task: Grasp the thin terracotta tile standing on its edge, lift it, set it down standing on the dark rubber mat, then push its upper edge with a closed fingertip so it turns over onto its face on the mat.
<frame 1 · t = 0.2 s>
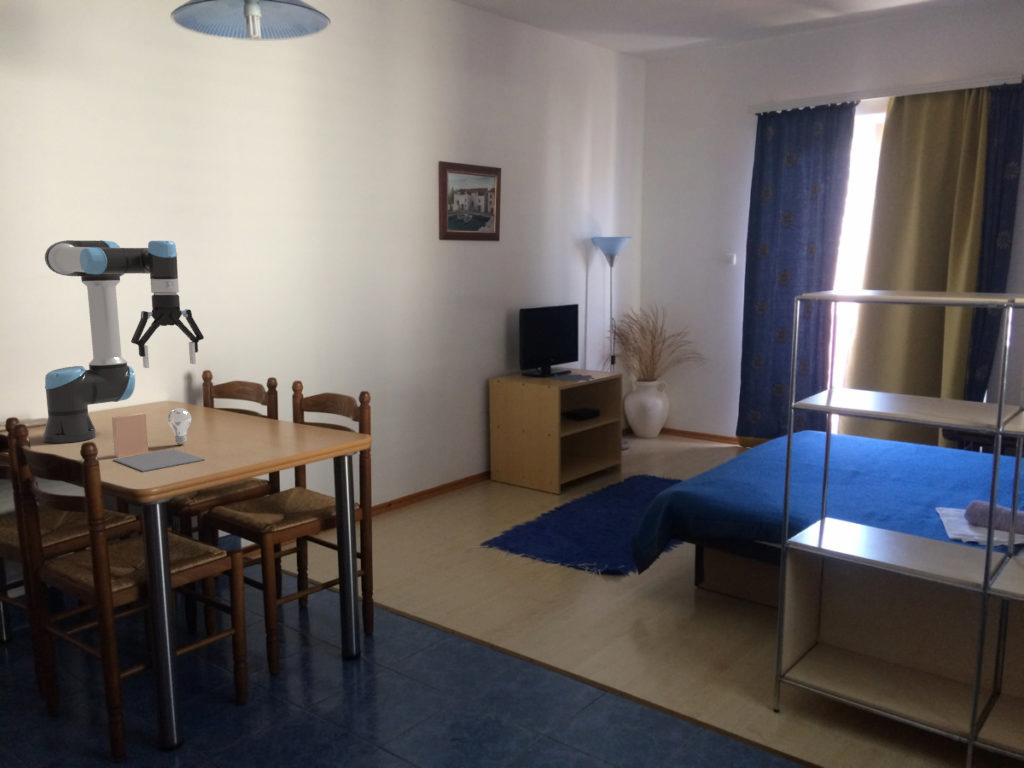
hand: (170, 365, 244), 27 cm above the table, fingers open, 13 cm apart
light bulb: (181, 445, 261), on the table
tile: (131, 454, 249), on the table
mat: (158, 460, 241), on the table
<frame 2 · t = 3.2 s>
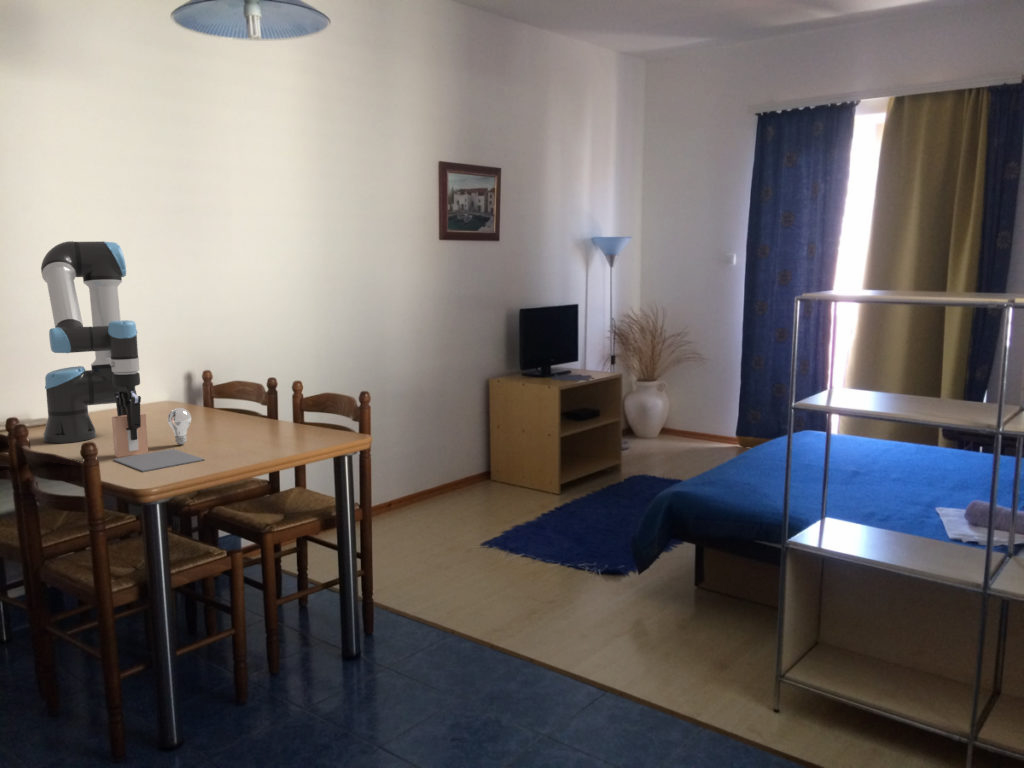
hand: (131, 449, 248), 2 cm above the table, fingers closed on tile, 2 cm apart
tile: (131, 454, 249), on the table, touching gripper
everything else where it was.
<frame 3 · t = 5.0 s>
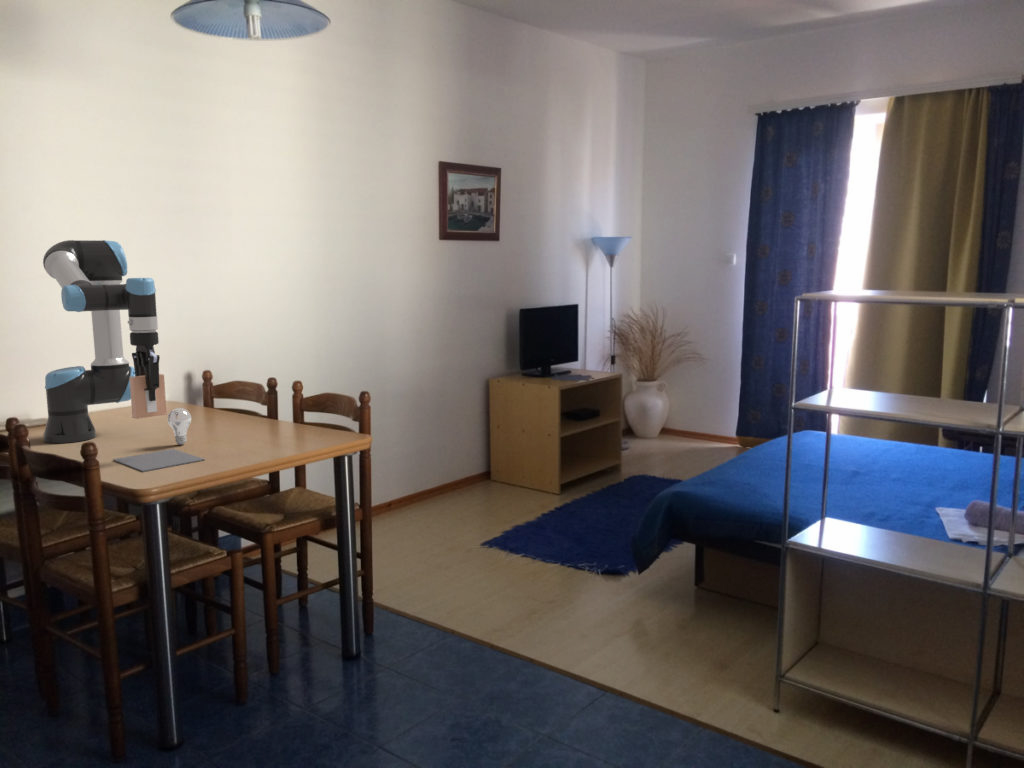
hand: (149, 410, 241), 14 cm above the table, fingers closed on tile, 2 cm apart
tile: (149, 416, 241), point 13 cm above the table, touching gripper
everything else where it was.
when the fingers open (3 cm above the table, at t = 7.1 s): tile stays where it is, resting on mat.
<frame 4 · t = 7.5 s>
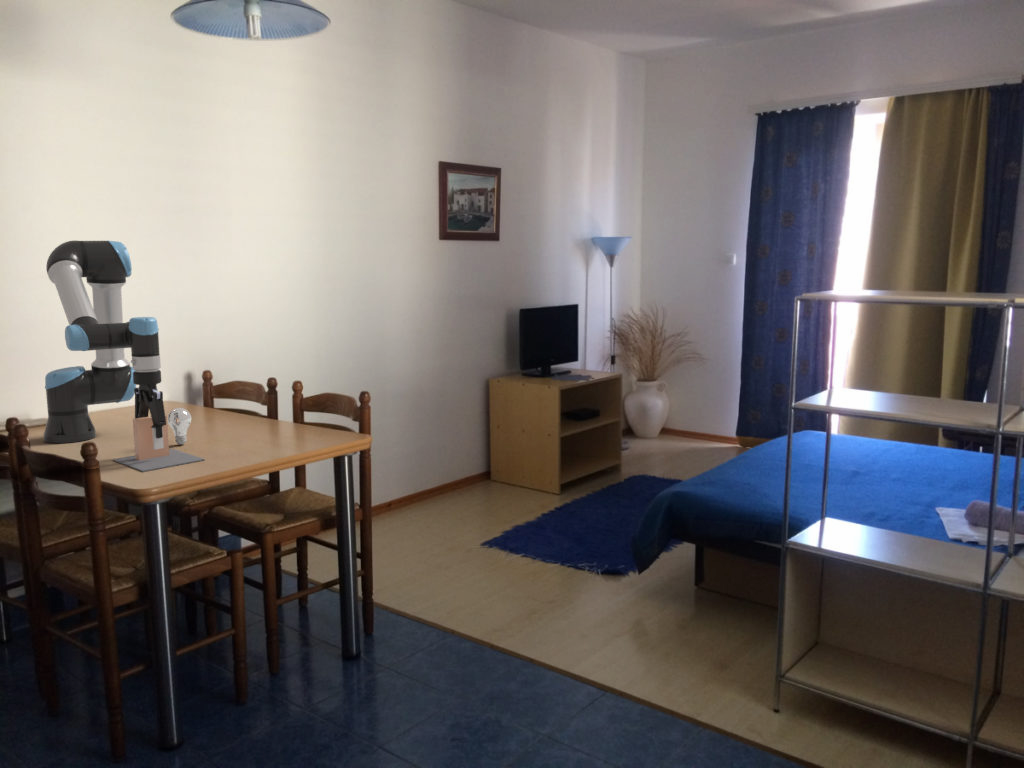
hand: (152, 446, 243), 4 cm above the table, fingers open, 8 cm apart
tile: (152, 456, 243), resting on mat
everything else where it was.
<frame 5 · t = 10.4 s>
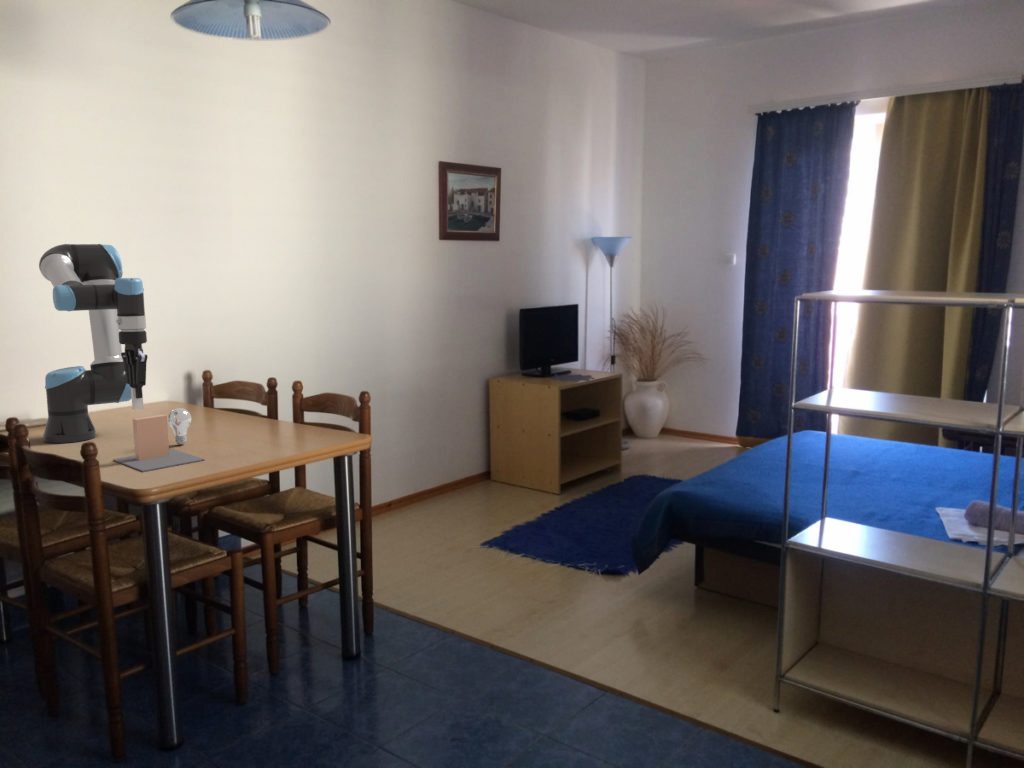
hand: (138, 408, 247), 14 cm above the table, fingers closed
nothing on the table moved.
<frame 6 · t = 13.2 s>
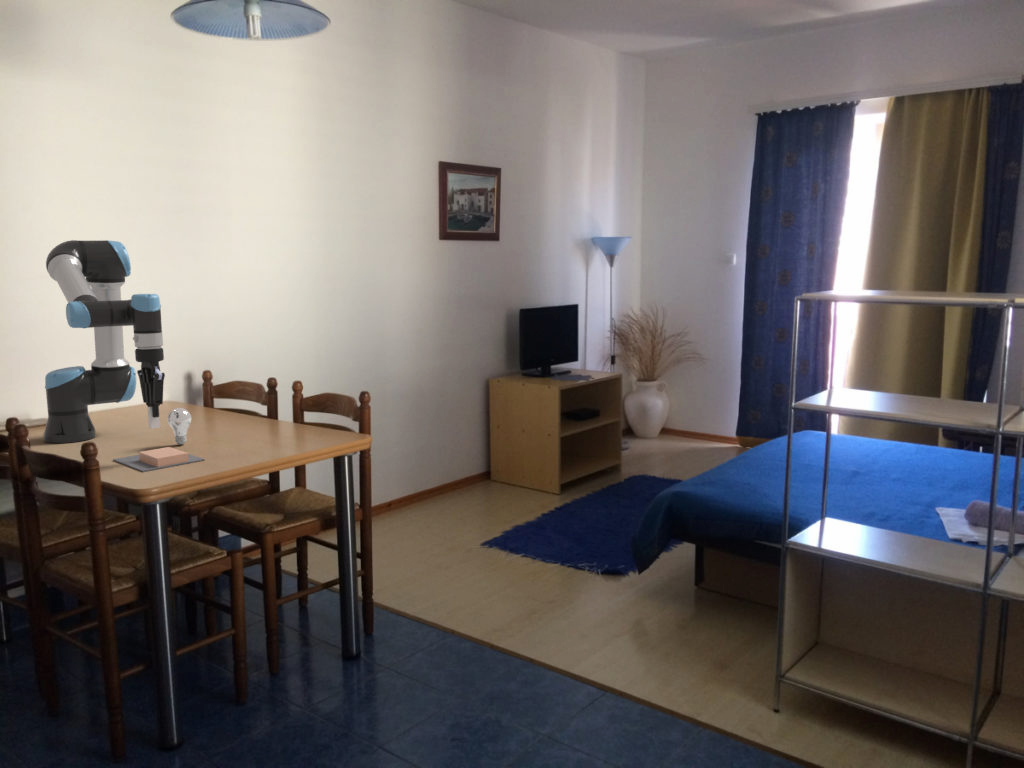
hand: (154, 427, 240), 10 cm above the table, fingers closed
tile: (154, 453, 242), point 2 cm above the table, tilted 90°, touching mat
everything else where it was.
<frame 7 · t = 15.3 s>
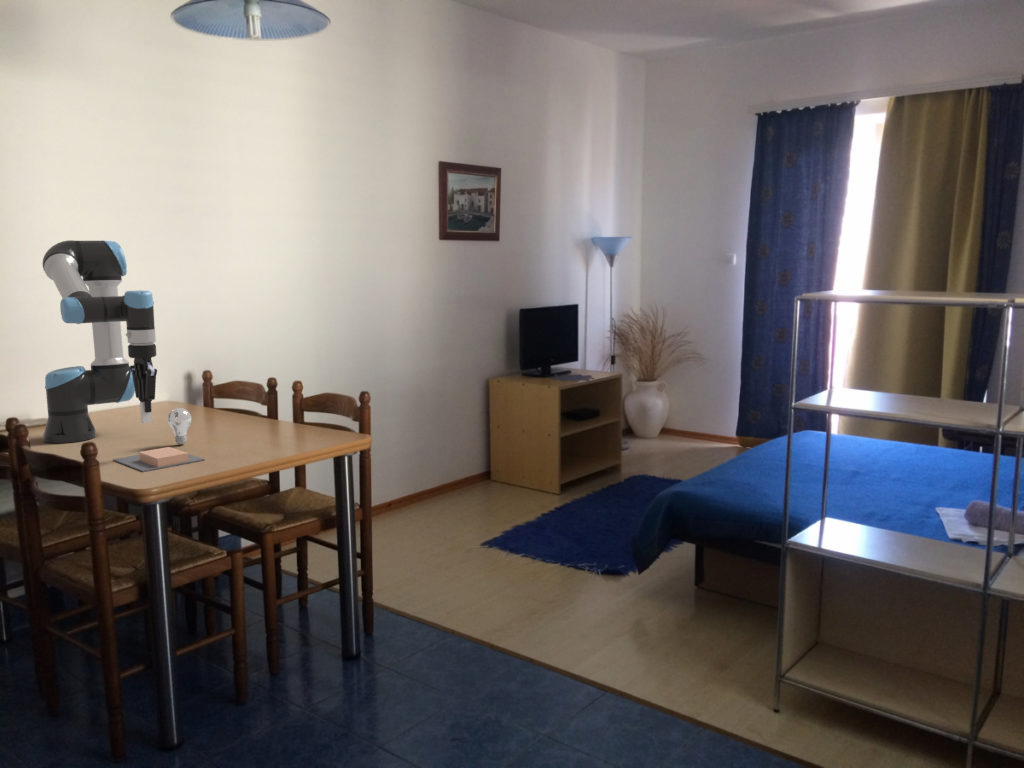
hand: (146, 422, 244), 10 cm above the table, fingers closed
nothing on the table moved.
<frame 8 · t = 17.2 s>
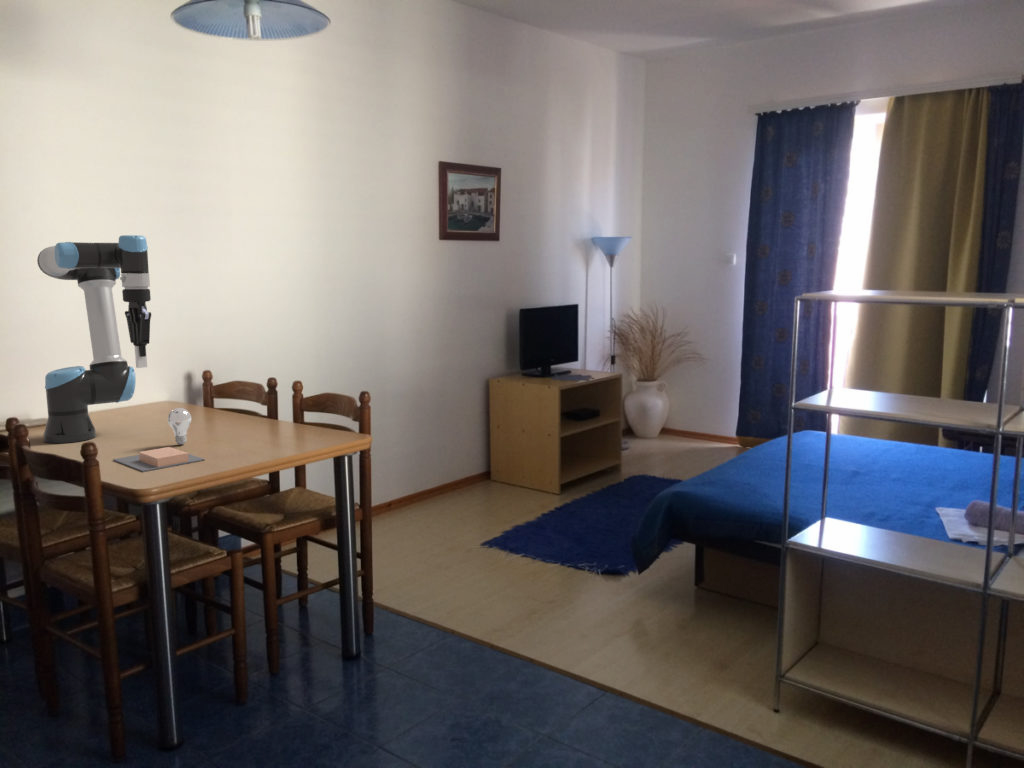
hand: (141, 367, 246), 26 cm above the table, fingers closed
nothing on the table moved.
at the end: tile tilted 90°; tile inside the target area on the mat (2.6 cm from its centre), point 1.6 cm above the mat's base; the gripper is holding nothing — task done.
